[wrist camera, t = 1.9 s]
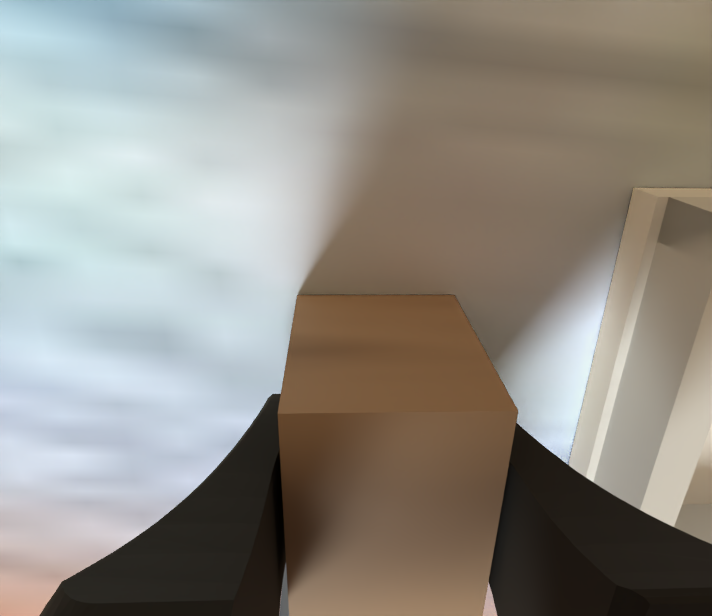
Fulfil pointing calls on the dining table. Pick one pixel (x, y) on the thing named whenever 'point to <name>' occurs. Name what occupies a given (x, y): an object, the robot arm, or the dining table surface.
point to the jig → (656, 365)
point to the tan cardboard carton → (390, 457)
